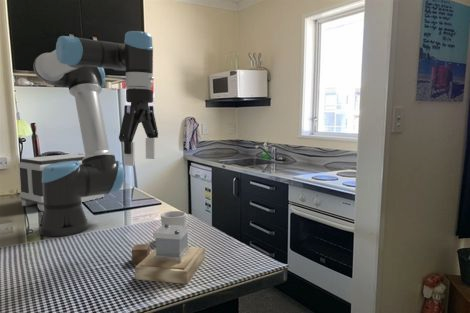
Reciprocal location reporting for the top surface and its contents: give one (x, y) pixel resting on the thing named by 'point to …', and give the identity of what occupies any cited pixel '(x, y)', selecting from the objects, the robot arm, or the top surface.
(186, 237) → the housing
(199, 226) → the top surface
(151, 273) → the tan square tray
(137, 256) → the walnut block
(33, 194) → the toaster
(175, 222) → the cup
